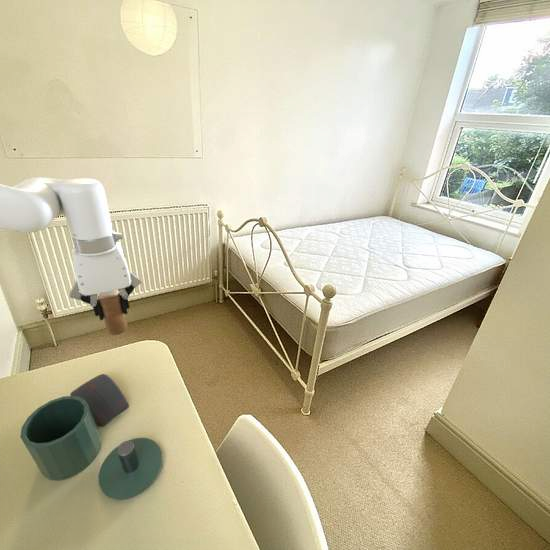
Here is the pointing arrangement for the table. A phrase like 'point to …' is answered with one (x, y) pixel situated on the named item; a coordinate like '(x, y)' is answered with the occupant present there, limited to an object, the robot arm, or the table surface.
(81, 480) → the table surface
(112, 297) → the brown cylinder
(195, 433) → the table surface
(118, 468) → the tin lid
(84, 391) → the dark grey flat block
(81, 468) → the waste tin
